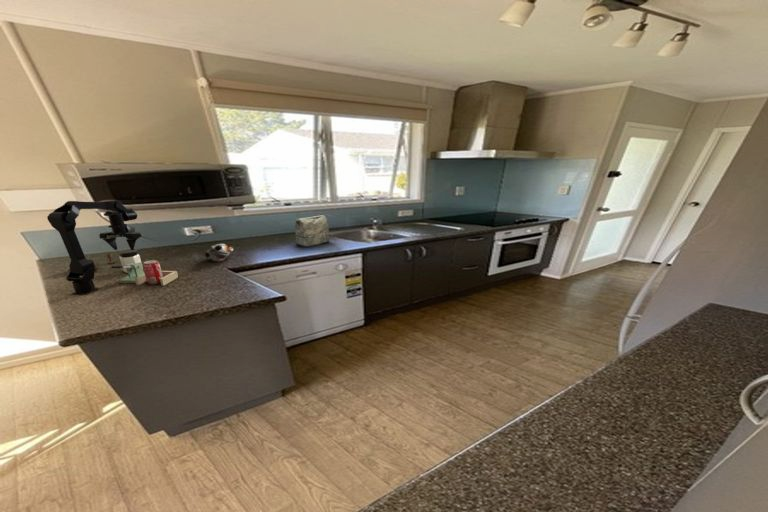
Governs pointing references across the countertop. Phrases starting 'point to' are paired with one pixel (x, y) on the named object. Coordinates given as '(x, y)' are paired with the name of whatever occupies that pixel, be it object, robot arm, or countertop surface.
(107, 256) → the place setting
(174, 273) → the tray
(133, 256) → the jar
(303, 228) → the lunch bag
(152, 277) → the soda can
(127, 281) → the coffee maker
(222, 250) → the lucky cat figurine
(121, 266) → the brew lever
